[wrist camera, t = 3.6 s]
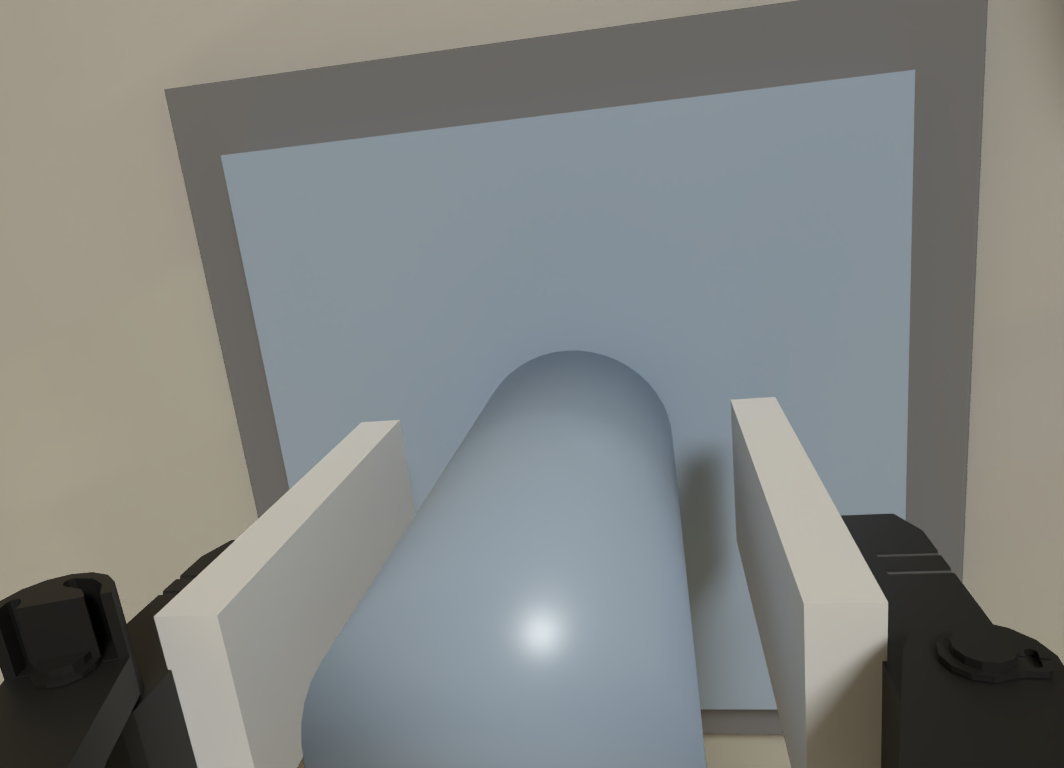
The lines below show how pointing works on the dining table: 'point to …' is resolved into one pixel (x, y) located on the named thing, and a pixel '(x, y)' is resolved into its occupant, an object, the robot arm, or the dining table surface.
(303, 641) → the robot arm
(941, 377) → the mat
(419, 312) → the lid
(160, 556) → the dining table surface
